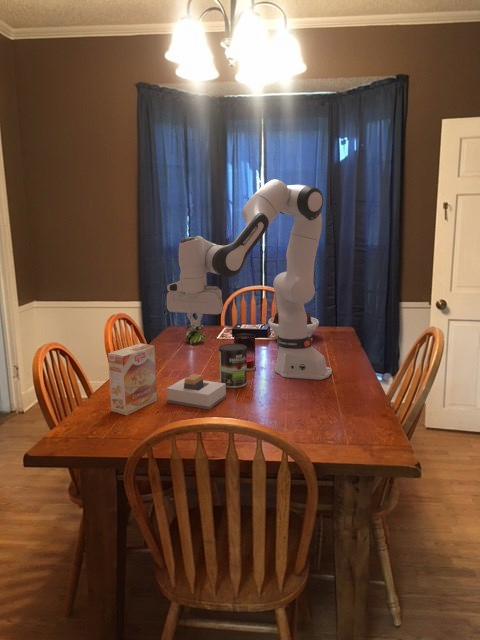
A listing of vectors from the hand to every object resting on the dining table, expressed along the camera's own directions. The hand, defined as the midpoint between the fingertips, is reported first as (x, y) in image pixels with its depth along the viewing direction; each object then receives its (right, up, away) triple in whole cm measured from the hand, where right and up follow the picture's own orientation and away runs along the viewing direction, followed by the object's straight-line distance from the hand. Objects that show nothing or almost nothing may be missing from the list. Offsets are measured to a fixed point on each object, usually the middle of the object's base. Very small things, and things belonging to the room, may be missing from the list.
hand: (195, 325), depth 173 cm
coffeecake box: (-20, -27, -5) cm, 34 cm away
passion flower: (-6, -9, +76) cm, 77 cm away
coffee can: (+13, -22, +16) cm, 30 cm away
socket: (0, -25, 0) cm, 25 cm away
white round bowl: (+42, -8, +80) cm, 90 cm away
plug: (0, -24, -1) cm, 24 cm away
